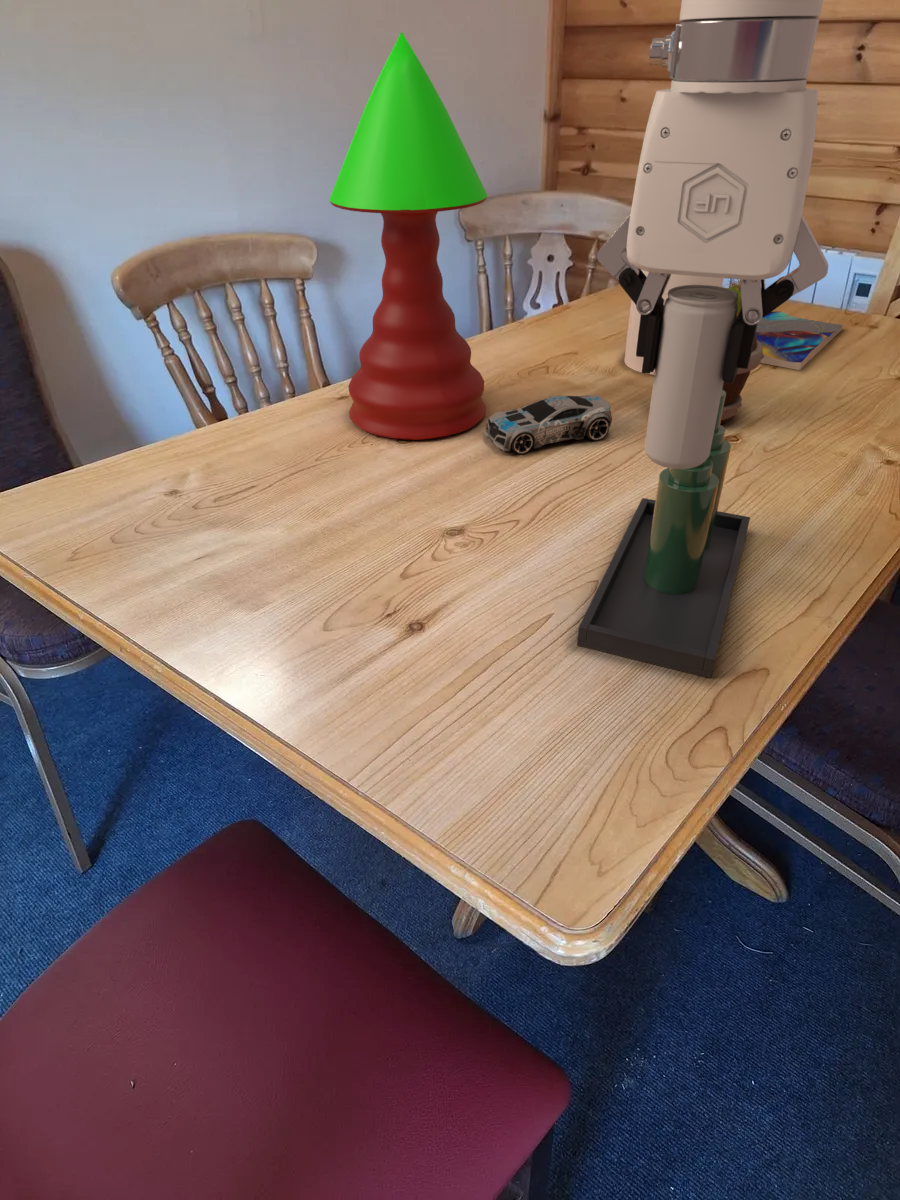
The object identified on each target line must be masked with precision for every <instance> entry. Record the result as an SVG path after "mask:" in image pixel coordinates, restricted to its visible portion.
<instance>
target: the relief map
mask: <svg viewBox="0 0 900 1200" xmlns="http://www.w3.org/2000/svg"><path fill="white" fill-rule="evenodd" d="M843 326H844V325H843V324H839V323H832V322H826V321H818V320H813V319H808V318H802V317H798V316H793V315H790V314H788V313H786V312H785V311H777V310H775V311H772V312H770V313H769V314H768V315H766V316H765V317H764V318H762V319H761V321H760V322H759V323H758V324H757V329H756V337H757V341H758V342H760V344H761V345H762V349H763V354H764V358H762V359H761V361H760V363H759V364H764V365H770V366H775V367H780V368H785V369H790V370H796V371H800V370H802V369H803V368H804V366H806V365H807V364H808V363H810V361H811V360H812V359H813V358H814V357H816V355H817V354H819V352H820V351H821V350H822V349H824V348H825V347H826V346H827V345H828V344H829V343H830V342H831V341H832V340H833V339H834V338H835V337H837V335H838V334H839V333H841V331H842V330H843Z"/></svg>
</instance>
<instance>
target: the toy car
mask: <svg viewBox="0 0 900 1200" xmlns="http://www.w3.org/2000/svg"><path fill="white" fill-rule="evenodd" d="M611 409H612V406H611V404H610V403H609V402H608V401H607V400H605V399H604V398H602V397H601V396H599V395H596V394H587V395H551V396H547V397H545V398H541V399H539V400H537V401H536V400H535V401H534V402H531V403H528V404H527V405H524V406H521V407H519V408H518V407H517V408H513V409H509V410H499V411H497V412H495V413H493V415H490V416H489V417H488V419H487V421H486V426H485V427H486V428H485V431H484V433H483V434H484V436H485V437H486V438H489V439H490V440H491V441H492V444H493V445H494V446H496V447H497V448H499V449H500V450H501V451H503V452H511V449H512V451H513V452H515V453H516V454H517V455H525V454H527V453H529V452H530V451H531V449H532V448H533V450H534V449H535V450H536V449H540V448H541V447H543V446H544V445H549V444H553V443H558V442H563V441H569V440H573V439H574V440H576V441H578V440H584V439H585V436H586V437H587V438H588V439H590V440H592V441H593V442H598V441H601V440H603V439H604V438H605V437H606V436H607V435H608V433H609V431H610V428H611V426H612V422H613V415H612V413H611Z"/></svg>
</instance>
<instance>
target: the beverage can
mask: <svg viewBox="0 0 900 1200" xmlns="http://www.w3.org/2000/svg"><path fill="white" fill-rule="evenodd" d="M727 288H728V287H724V286H723V287H718V286H710V285H684V286H678V287H674V288H672V289H670V290H669V291H668V298H667V299H666V301H665V303H664V310H663V317H662V324H661V331H660V339H659V346H658V353H657V360H656V367H655V375H653V382H652V389H651V390H652V391H651V395H650V396H651V397H650V404H649V411H648V418H647V419H648V420H647V425H646V432H645V439H644V440H645V441H644V446H643V447H644V448H643V450H644V452H645V454H646V456H647V457H648V459H649V460H650V461H651V462H652V463H654V464H656V465H658V466H660V467H662V468H672V469H689V468H694V467H697V466H699V465H701V464H702V463H703V462H704V461H706V460H707V458H708V457H709V455H710V450H711V445H712V440H713V434H714V429H715V424H716V419H717V414H718V409H719V404H720V398H721V393H722V388H723V383H724V381H723V375H724V369H725V364H726V359H727V354H728V348H729V343H730V338H731V333H732V328H733V324H734V322H735V320H736V315H737V310H738V304H737V302H736V301H737V298H738V294H737V293H736V292H735V291H733V290H730V289H727Z"/></svg>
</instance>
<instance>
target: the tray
mask: <svg viewBox="0 0 900 1200" xmlns="http://www.w3.org/2000/svg"><path fill="white" fill-rule="evenodd" d="M655 501H656V499H651V498H644V497H642V498H641V499H640V502H639V504H638V506H637V508H636V509H635V512H634V514H633V516H632V518H631V520H630V521H629V524H628V527H626V530H625V532H624V534H623V536H622V538H621V540H620V542H619V545H617V548H616V550H615V553H614V555H613V557H612V559H611V561H610V563H609V564H608V566H607V568H606V569H607V570H606V571H605V573H604V575H603V577H602V579H601V581H600V583H599V585H598V587H597V589H596V591H595V593H594V595H593V597H592V599H591V601H590V604H589V605H588V607H587V610H586V612H585V614H584V615H583V617H582V619H581V622H580V623H579V626H578V633H577V640H576V646H579V647H583V648H586V649H590V650H594V651H599V652H602V653H607V654H611V655H615V656H618V657H622V658H626V659H631V660H635V661H639V662H643V663H647V664H651V665H656V666H659V667H663V668H667V669H671V670H675V671H679V672H683V673H687V674H692V675H695V676H699V677H703V678H707V679H712V674H713V670H714V667H715V666H714V665H715V662H716V658H717V655H718V650H719V646H720V642H721V638H722V635H723V630H724V626H725V621H726V618H727V615H728V609H729V606H730V601H731V598H732V593H733V589H734V585H735V581H736V577H737V575H738V569H739V565H740V561H741V557H742V553H743V550H744V545H745V541H746V537H747V533H748V529H749V524H750V521H751V517H750V516H746V515H741V514H735V513H729V512H723V511H719V510H718V511H717V516H716V520H715V525H714V530H713V535H712V539H711V544H710V546H709V547H708V548H707V549H706V550H705V552H704V557H703V562H702V567H701V572H700V577H699V582H698V585H697V587H696V588H695V589H694V590H692V591H690V592H688V593H684V594H669V593H664V592H660V591H658V590H655V589H654V588H652V587H650V586H649V585H648V584H647V583H646V581H645V579H644V571H645V565H646V559H647V552H648V546H649V539H650V533H651V526H652V520H653V514H654V507H655Z"/></svg>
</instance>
